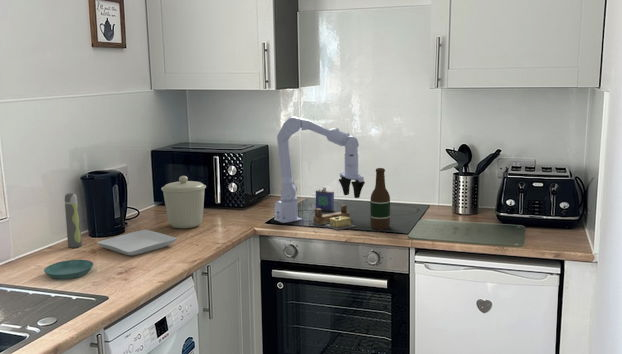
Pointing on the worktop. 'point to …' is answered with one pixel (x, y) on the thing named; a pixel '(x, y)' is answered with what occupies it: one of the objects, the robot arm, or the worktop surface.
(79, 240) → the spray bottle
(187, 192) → the canister
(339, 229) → the mat
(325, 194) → the flask
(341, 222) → the pale yellow block
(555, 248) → the worktop surface
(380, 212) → the beer bottle
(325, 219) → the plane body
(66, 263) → the saucer
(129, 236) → the salad plate
